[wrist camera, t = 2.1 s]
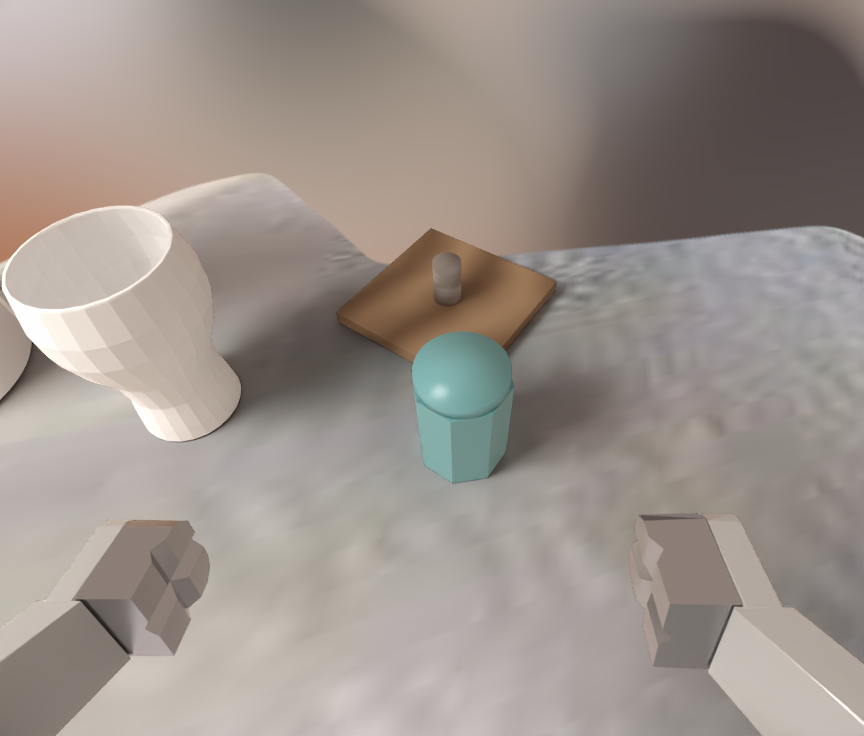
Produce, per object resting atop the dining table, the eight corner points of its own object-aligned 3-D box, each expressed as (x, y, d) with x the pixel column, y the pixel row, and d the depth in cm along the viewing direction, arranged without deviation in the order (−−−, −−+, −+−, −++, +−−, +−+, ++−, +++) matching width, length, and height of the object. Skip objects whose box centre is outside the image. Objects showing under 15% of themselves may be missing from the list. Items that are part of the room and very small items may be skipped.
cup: (286, 393, 43) (218, 244, 31) (169, 486, 38) (37, 352, 26) (211, 331, 47) (127, 180, 35) (100, 407, 43) (-40, 263, 31)
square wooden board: (338, 321, 47) (326, 278, 43) (431, 238, 54) (428, 193, 50) (469, 394, 42) (470, 352, 38) (554, 291, 48) (563, 245, 44)
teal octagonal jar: (404, 452, 39) (391, 379, 32) (451, 397, 42) (449, 318, 34) (473, 497, 36) (476, 428, 29) (518, 434, 39) (530, 358, 32)
